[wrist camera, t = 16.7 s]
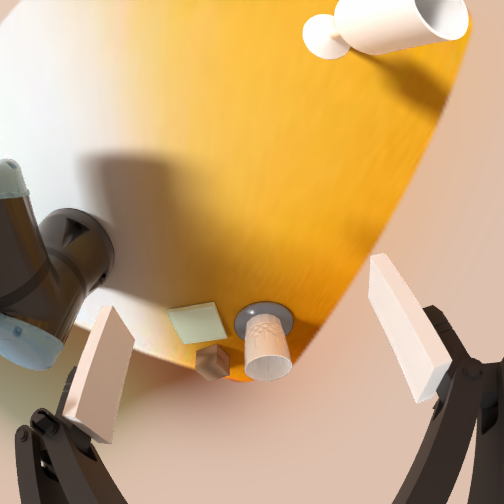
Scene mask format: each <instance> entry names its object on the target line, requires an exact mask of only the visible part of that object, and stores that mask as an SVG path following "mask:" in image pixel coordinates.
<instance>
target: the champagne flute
mask: <svg viewBox="0 0 504 504" xmlns="http://www.w3.org/2000/svg"><path fill="white" fill-rule="evenodd" d="M467 27H468V12H467V8H466V6H465V3H464V1H463V0H340V1H339V2H338V4H337V6H336V8H335V14H334V16H332V15H327V14H321V15H316V16H314V17H312V18H310V19H309V20H308V21H307V22H306V24H305V26H304V28H303V39H304V42H305V44H306V46H307V47H308V49H309V50H310V51H311V52H312V53H313V54H315V55H316V56H318V57H321V58H324V59H337V58H340V57H342V56H344V55H345V54H346V53H347V52H348V51H349V49H350V47H353V48H354V49H356V50H358V51H360V52H363V53H366V54H369V55H382V54H386V53H390V52H394V51H398V50H403V49H407V48H412V47H416V46H421V45H426V44H432V43H437V42H443V41H449V40H456V39H459V38H461V37H462V36H463V35H464V34H465V32H466V31H467Z"/></svg>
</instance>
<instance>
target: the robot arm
mask: <svg viewBox="0 0 504 504" xmlns="http://www.w3.org/2000/svg"><path fill="white" fill-rule="evenodd" d="M29 194H30V193H29V190H28V189H27V188H26V185H25V182H24V178H23V175H22V172H21V168H20V166H19V165H18V163H17V162H16V161H14V160H12V159H2V160H0V354H1V355H2V356H4V357H5V358H7V359H8V360H10V361H12V362H14V363H15V364H17V365H20V366H22V367H25V368H28V369H32V370H46V369H49V368H51V367H52V366H53V365H54V363H55V361H56V360H57V358H58V355H59V353H60V352H61V351H62V350H63V348H64V344H65V342H66V340H67V337H68V335H69V332H70V330H71V328H72V326H73V323H74V321H75V319H76V317H77V314H78V312H79V310H80V308H81V306H82V303H83V301H84V299H85V298H86V297H87V296H88V295H90V294H91V293H92V292H93V291H94V290H96V289H97V288H98V287H99V286H101V285H102V284H103V283H104V282H105V280H106V279H107V277H108V275H109V273H110V271H111V269H112V267H113V263H114V251H113V247H112V243H111V241H110V239H109V237H108V235H107V233H106V232H105V230H104V229H103V228H102V226H101V225H100V224H99V223H98V222H97V221H96V220H94V219H93V218H92V217H91V216H89V215H87V214H86V213H84V212H81V211H79V210H76V209H70V208H63V209H58V210H55V211H53V212H52V213H50V214H49V215H48V216H47V217H46V218H45V219H44V220H43V221H42V222H41V223H40V225H39V227H38V225H37V222H36V219H35V216H34V212H33V209H32V205H31V202H30V198H29ZM368 298H369V300H370V302H371V304H372V306H373V308H374V310H375V312H376V314H377V317H378V319H379V321H380V323H381V325H382V327H383V329H384V331H385V333H386V335H387V337H388V340H389V342H390V344H391V346H392V348H393V350H394V353H395V355H396V357H397V359H398V362H399V364H400V366H401V368H402V371H403V373H404V375H405V378H406V380H407V382H408V385H409V387H410V389H411V392H412V395H413V397H414V400H415V402H416V404H417V403H420V402H423V401H425V400H428V399H430V398H432V397H433V395H434V394H435V392H437V394H438V396H439V399H438V401H437V402H436V404H435V405H434V407H433V409H435V410H434V413H433V416H432V418H431V421H430V424H429V426H428V429H427V432H426V434H425V437H424V439H423V442H422V444H421V446H420V449H419V451H418V453H417V455H416V458H415V460H414V462H413V464H412V466H411V468H410V471H409V473H408V475H407V477H406V479H405V481H404V483H403V484H402V486H401V488H400V490H399V492H398V494H397V496H396V497H395V499H394V501H393V503H392V504H446V503H447V501H448V498H449V496H450V494H451V492H452V490H453V487H454V485H455V482H456V480H457V477H458V475H459V472H460V470H461V467H462V464H463V461H464V459H465V455H466V452H467V450H468V446H469V443H470V440H471V437H472V433H473V430H474V426H475V423H476V419H477V433H476V434H477V435H476V448H475V459H474V466H473V474H472V481H471V487H470V493H469V498H468V503H467V504H504V358H503V359H502V361H501V362H497V363H487V364H482V363H481V362H480V361H479V360H477V359H475V358H471V357H470V356H469V354H468V353H467V351H466V349H465V348H464V346H463V344H462V343H461V341H460V339H459V338H458V336H457V335H456V333H455V331H454V330H453V329H452V326H451V325H450V323H448V320H447V319H446V317H445V316H444V314H443V312H442V311H440V310H439V309H438V308H436V307H435V306H434V305H432V306H428V307H426V308H422V307H421V306H420V304H419V303H418V301H417V300H416V298H415V297H414V295H413V293H412V292H411V290H410V289H409V287H408V286H407V284H406V283H405V281H404V280H403V278H402V277H401V275H400V274H399V272H398V271H397V269H396V268H395V267H394V265H393V264H392V262H391V261H390V259H389V258H388V257H387V255H386V254H385V253H380V254H376V255H372V256H370V278H369V294H368ZM134 341H135V339H134V338H133V336H132V335H131V333H130V332H129V330H128V329H127V327H126V326H125V324H124V323H123V321H122V319H121V318H120V316H119V315H118V313H117V312H116V310H115V308H114V307H113V305H111V306H105V307H101V309H100V311H99V314H98V316H97V318H96V321H95V323H94V326H93V328H92V330H91V333H90V336H89V338H88V341H87V343H86V346H85V349H84V351H83V354H82V356H81V359H80V362H79V365H78V366H75V367H74V368H73V370H72V371H71V372H70V374H69V375H68V378H67V381H66V385H65V386H64V390H63V391H64V392H63V393H62V395H61V399H60V402H59V405H58V408H57V411H56V415H55V416H54V415H53V414H52V413H50V412H49V411H48V410H47V409H45V408H40V409H38V410H36V411H35V412H34V413H33V415H32V417H31V420H30V427H32V428H33V429H34V430H33V429H32V428H30V427H29V426H27V425H22V426H20V427H19V428H18V429H17V431H16V434H15V452H16V453H15V454H16V467H17V476H18V485H19V492H20V498H21V504H128V503H127V502H126V500H125V499H124V497H123V496H122V494H121V492H120V491H119V489H118V488H117V486H116V484H115V483H114V481H113V480H112V478H111V476H110V474H109V473H108V471H107V469H106V468H105V466H104V464H103V462H102V460H101V459H100V457H99V455H98V453H97V451H96V449H95V447H94V446H93V444H92V443H90V442H91V438H93V439H94V440H95V441H97V442H98V443H104V444H112V438H113V432H114V427H115V422H116V418H117V413H118V408H119V403H120V398H121V394H122V390H123V385H124V381H125V376H126V373H127V368H128V364H129V360H130V356H131V353H132V349H133V345H134ZM41 461H42V462H43V463H44V467H42V466H41Z"/></svg>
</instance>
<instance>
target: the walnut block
mask: <svg viewBox="0 0 504 504" xmlns="http://www.w3.org/2000/svg"><path fill="white" fill-rule="evenodd" d="M195 370H196V371H197V372H198V373H200V374H201V375H202V376H203V377H205V378H206V379H207V380H208V381H211V380H215V379H219V378H222V377H225V376H229V375H230V370H229V356H228V355H227V354H226V353H225V352H224V351H223V350H222V349H221V347H220V346H219V345H218V344H215V345H212V346H209V347H206V348H203V349H201V350H198V351H197V353H196V365H195Z"/></svg>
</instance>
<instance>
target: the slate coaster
mask: <svg viewBox="0 0 504 504" xmlns="http://www.w3.org/2000/svg"><path fill="white" fill-rule="evenodd" d="M259 314H271V315H275V316H276V317H277V318H279V319H280V321H281V324H282V328H283V331H284V333H285V336H286V335H287V334H288V333H289V332H290V331H291V329H292V326H293V318H292V315H291V312H290V311H289V310H288V309H287V308H286V307H285V306H283V305H281V304H279V303H275V302H268V301H264V302H257V303H253V304H250V305H248V306H246V307H245V308H243V309H242V310H241V311H240V312H239V313H238V314H237V316H236V318H235V322H234V326H235V331H236V333H237V335H238V336H239V337H240V338H241V339H243V340H245V335H246V331H245V329H246V324H247V322H248V321H249V320H250V319H251V318H252V317H254V316H256V315H259Z"/></svg>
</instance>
